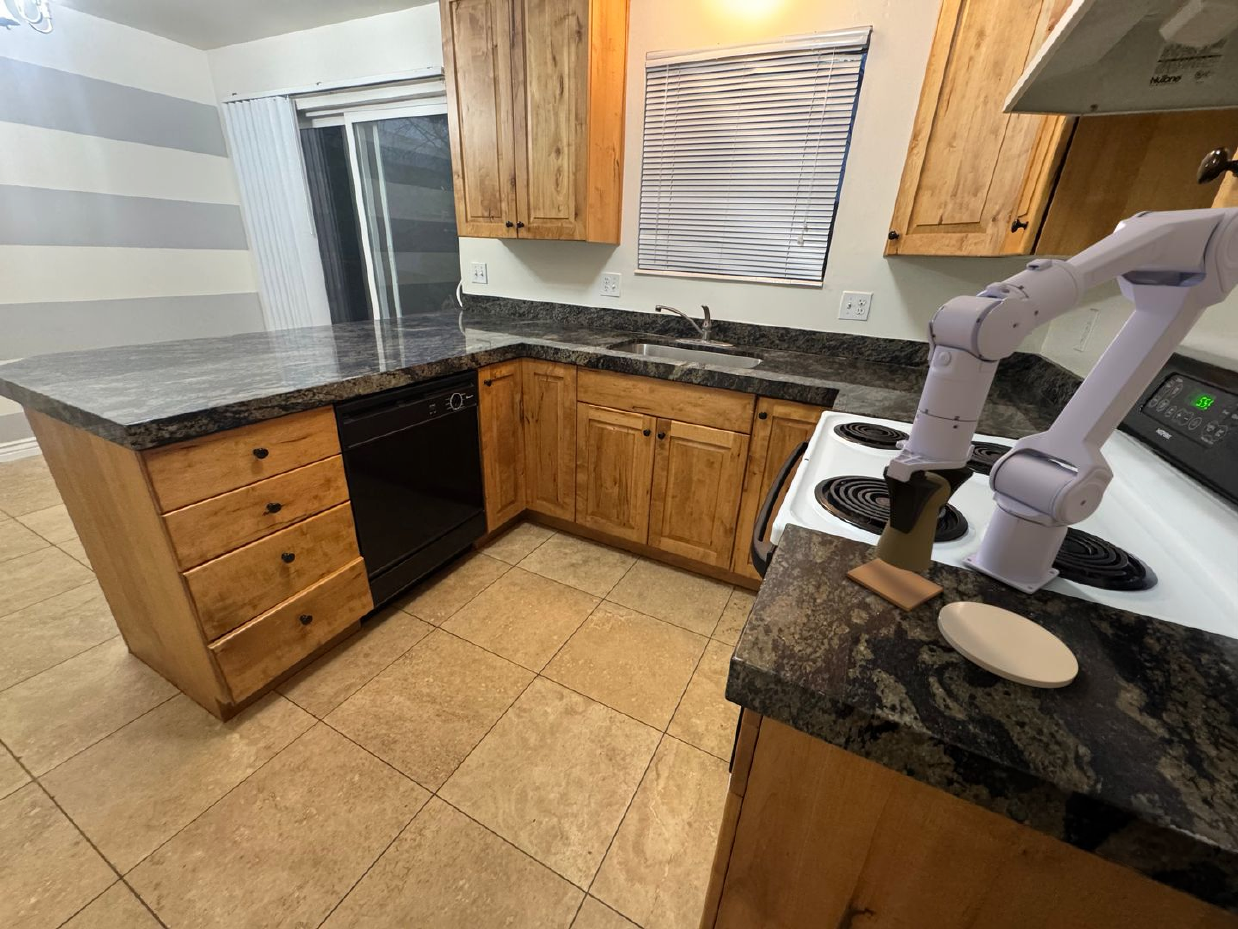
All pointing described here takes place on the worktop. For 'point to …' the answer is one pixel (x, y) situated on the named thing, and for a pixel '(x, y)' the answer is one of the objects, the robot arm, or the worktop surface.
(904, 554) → the pepper shaker
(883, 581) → the cork trivet
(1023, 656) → the plate
